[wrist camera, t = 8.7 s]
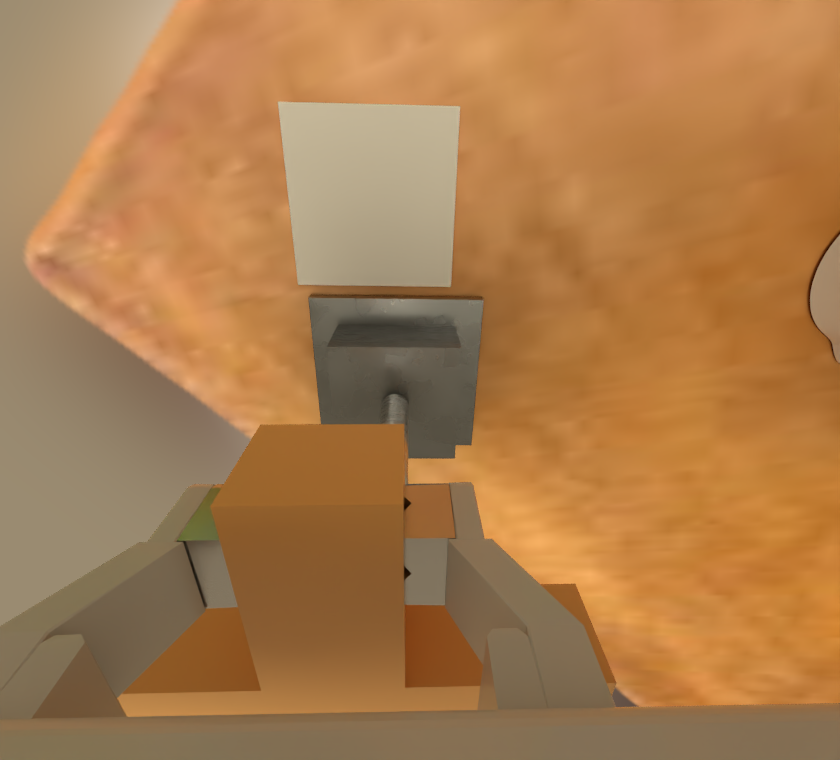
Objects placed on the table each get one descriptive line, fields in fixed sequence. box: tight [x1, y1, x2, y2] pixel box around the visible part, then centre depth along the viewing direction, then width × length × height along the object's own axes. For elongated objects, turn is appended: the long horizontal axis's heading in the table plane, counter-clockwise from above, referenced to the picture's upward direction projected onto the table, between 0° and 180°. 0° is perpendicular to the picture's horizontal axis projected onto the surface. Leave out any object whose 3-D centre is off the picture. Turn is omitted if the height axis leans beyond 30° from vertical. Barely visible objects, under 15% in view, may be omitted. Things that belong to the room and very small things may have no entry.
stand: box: [309, 295, 484, 484], centre depth 33 cm, size 16×16×20 cm
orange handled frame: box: [117, 424, 616, 717], centre depth 11 cm, size 12×17×2 cm
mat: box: [278, 102, 460, 287], centre depth 35 cm, size 14×14×1 cm
